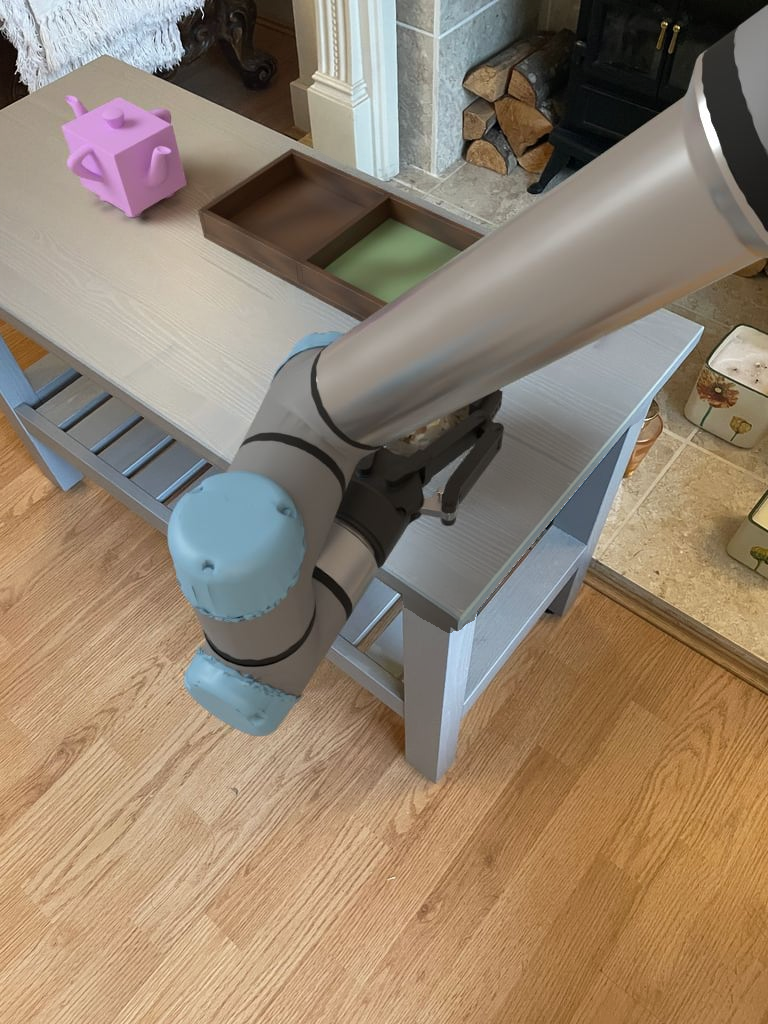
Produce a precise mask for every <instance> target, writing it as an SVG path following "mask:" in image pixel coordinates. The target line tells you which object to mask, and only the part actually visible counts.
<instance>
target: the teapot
mask: <svg viewBox="0 0 768 1024" xmlns="http://www.w3.org/2000/svg"><path fill="white" fill-rule="evenodd" d="M64 99H65V101H66V103H67V104H68V105H69V106H70V107H71V109H72V111H73V112H74V115H75V116H76V118H74V119H72V120H71V121H69V122H67V123H65V124H62V125H61V130H62V133H63V137H64V139H65V141H66V142H65V143H66V145H67V147H68V150H69V152H70V155H69V156H68V158H67V160H66V166H67V169H68V170H69V171H70V172H71V173H72V174H74V175H76V176H77V177H78V179H79V181H80V183H81V186H82V187H84V188H85V189H87V190H89V191H90V192H92V193H94V194H95V195H97V196H98V197H99V199H100V200H101V201H103V202H108V203H109V204H111V205H113V206H115V207H117V208H118V209H120V210H121V211H123V212H124V213H125V215H126V217H129V218H136V217H139V216H141V215H142V214H143V212H144V211H145V210H146V209H148V208H150V207H152V206H153V205H156V204H157V203H158V202H160V201H161V200H163V199H169V198H171V197H173V196H174V195H175V193H176V192H177V191H178V190H180V189H182V188H184V187H186V186H187V179H186V176H185V171H184V168H183V164H182V163H183V162H182V159H181V154H180V150H179V147H178V143H177V138H176V134H175V130H174V126H173V125H172V124H171V123H172V114H171V112H170V110H168V109H166V108H162V107H161V108H155V109H152V110H149V111H147V110H145V109H143V108H141V107H139V106H138V105H135V104H134V103H132V102H130V101H128V100H125V99H124V98H122V97H120V96H118V97H116V98H114V99H112V100H110V101H108V102H106V103H104V104H102V105H99V106H98V107H96V108H94V109H91V110H90V111H88V110H87V108H86V107H85V106H84V104H83V103H82V102H81V101H80V100H79V99H78V98H77V97H75V96H73V95H65V96H64Z"/></svg>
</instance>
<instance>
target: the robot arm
mask: <svg viewBox="0 0 768 1024" xmlns="http://www.w3.org/2000/svg"><path fill="white" fill-rule="evenodd" d="M763 259H768V4H766V5H765V6H764V7H763V8H761V9H760V10H759V11H757V12H756V13H754V14H753V15H751V16H750V17H749V18H747V19H746V20H745V21H744V22H742V23H741V24H739V25H738V26H737V27H735V28H734V29H733V30H731V31H730V32H729V33H727V34H725V36H723V37H721V38H720V39H719V40H718V41H716V42H715V43H713V44H712V45H711V46H709V47H708V48H706V49H705V51H703V52H702V53H700V54H699V55H698V56H697V58H696V60H695V64H694V67H693V71H692V74H691V78H690V81H689V84H688V88H687V91H686V93H685V94H684V96H683V97H681V98H680V99H679V100H678V101H676V102H675V103H673V104H672V105H670V106H669V107H666V109H664V110H663V111H662V112H660V113H659V114H656V116H654V117H653V118H652V119H650V120H648V121H647V122H646V123H644V124H643V125H641V126H640V127H639V128H637V129H636V130H635V131H633V132H631V133H629V135H627V136H626V137H625V138H623V139H621V140H620V141H618V142H617V143H616V144H614V145H612V146H611V147H610V148H608V149H607V150H606V151H604V152H603V153H602V154H600V155H599V156H597V157H596V158H594V159H593V160H591V161H590V162H589V163H587V164H586V165H584V166H583V167H581V168H580V169H578V170H577V171H575V173H572V174H571V175H570V176H569V177H567V178H565V179H564V180H563V181H561V182H560V183H558V184H557V185H555V186H554V187H552V188H551V189H550V190H549V191H547V192H546V193H544V194H542V195H541V196H540V197H539V198H537V199H536V200H534V201H533V202H531V203H530V204H529V205H527V206H525V207H524V208H523V209H521V210H520V211H519V212H517V213H515V214H514V215H512V216H511V217H510V218H509V219H506V220H505V221H504V222H503V223H501V224H500V225H498V226H497V227H495V228H494V229H493V230H491V231H490V232H489V233H487V234H485V236H484V237H483V238H481V239H480V240H478V241H477V242H476V243H474V244H473V245H471V246H470V247H468V248H467V249H466V250H464V251H463V252H461V253H460V254H458V255H457V256H456V257H454V258H453V259H451V260H450V261H448V262H447V263H445V264H444V265H443V266H441V267H440V268H438V269H437V270H435V271H434V272H433V273H431V274H430V275H428V276H427V277H425V278H424V279H423V280H421V281H420V282H418V283H417V284H415V285H414V286H413V287H411V288H410V289H408V290H407V291H405V292H404V293H403V294H401V295H400V296H398V297H397V298H395V299H394V300H393V301H391V302H390V303H388V304H387V305H385V306H384V307H383V308H381V309H380V310H378V311H377V312H375V313H374V314H373V315H371V316H370V317H368V318H367V319H365V320H364V321H362V322H361V321H360V322H359V323H358V324H357V325H355V326H353V327H352V328H351V329H349V330H348V331H347V332H340V331H333V330H331V331H327V332H312V333H309V334H307V335H305V336H303V337H302V338H301V339H299V340H298V341H297V342H296V343H295V344H294V345H293V346H292V348H291V350H290V351H289V353H288V354H287V355H286V358H285V359H284V361H283V362H282V363H281V364H280V365H279V366H278V367H277V369H276V370H275V372H274V373H273V374H274V375H273V378H272V380H271V382H270V384H269V388H268V390H267V392H266V394H265V396H264V398H263V400H262V402H261V404H260V405H259V408H258V410H257V412H256V414H255V416H254V418H253V420H252V422H251V424H250V426H249V428H248V430H247V432H246V434H245V436H244V438H243V440H242V442H241V444H240V446H239V447H238V450H237V452H236V454H235V455H234V456H233V458H232V461H231V463H230V464H229V467H227V470H226V472H221V473H218V474H214V475H212V476H209V477H206V478H205V479H204V480H202V481H201V483H200V484H199V485H198V486H196V487H194V488H193V489H192V490H191V491H190V492H186V493H185V494H184V495H183V496H181V498H180V499H179V500H178V501H177V503H176V505H175V506H174V508H173V511H172V513H171V515H170V518H169V521H168V525H167V546H168V550H169V553H170V556H171V558H172V561H173V567H174V569H175V572H176V573H175V575H176V578H175V579H176V580H177V584H178V586H179V588H180V590H181V592H182V594H183V596H184V598H185V599H186V600H187V601H188V603H190V606H191V607H192V609H193V612H194V614H195V616H196V618H197V620H198V622H199V624H200V626H201V629H202V633H203V637H204V639H205V642H204V643H203V644H202V645H201V646H198V648H197V649H196V650H195V652H194V656H193V658H192V659H191V662H189V665H188V666H187V668H186V670H185V672H184V676H183V685H184V688H185V690H186V691H187V693H188V695H190V697H191V698H192V699H193V700H194V701H195V702H196V703H197V704H198V705H199V706H201V707H202V708H203V709H205V710H206V711H207V712H208V713H209V714H211V715H212V716H213V717H214V718H217V719H218V720H220V722H222V723H224V724H226V725H227V726H229V727H232V728H233V729H235V730H237V731H239V732H242V733H244V734H246V735H249V736H252V737H253V736H254V737H266V736H270V735H271V734H273V733H274V732H276V731H277V730H278V728H279V727H280V726H281V724H282V723H283V722H284V720H285V719H286V717H287V716H288V715H289V713H290V712H291V711H292V710H293V708H294V707H295V705H296V704H298V703H299V702H300V701H301V700H302V699H303V696H302V694H303V692H304V691H305V690H306V687H308V685H309V683H310V681H311V680H312V678H313V677H314V675H315V673H316V672H317V670H318V668H319V667H320V666H321V664H322V662H323V660H324V659H325V658H326V656H327V654H328V653H329V651H330V649H331V648H332V647H333V645H334V643H335V641H336V640H337V638H338V636H339V635H340V633H342V632H341V631H342V630H343V628H344V627H345V625H346V624H347V622H348V620H349V619H350V617H352V614H353V613H354V611H355V609H356V608H357V606H358V605H359V603H360V601H361V600H362V598H363V597H364V596H365V594H366V592H367V590H368V589H369V588H370V586H371V584H372V583H373V581H374V580H375V578H376V576H377V575H378V571H379V570H378V569H380V568H381V567H383V566H384V564H385V563H386V561H387V560H388V558H389V557H390V555H391V553H392V552H393V550H394V548H395V547H396V546H397V544H398V543H399V541H400V539H401V538H402V536H403V535H404V533H405V531H406V529H407V528H408V526H410V525H411V523H413V522H415V521H417V520H419V519H420V518H421V517H422V516H427V517H434V518H440V522H441V524H442V525H443V526H446V527H451V526H454V525H455V524H456V522H457V518H458V512H459V508H460V505H461V503H462V502H463V501H464V500H465V498H466V497H467V495H468V494H469V492H470V491H471V490H472V488H473V487H475V485H476V483H477V482H478V480H479V479H480V477H482V475H483V474H484V472H485V471H486V469H487V468H488V467H489V465H491V463H492V462H493V460H494V459H495V457H496V456H497V455H498V454H499V452H500V451H501V449H502V445H503V439H504V431H505V427H504V424H502V423H501V422H499V421H497V422H496V421H494V419H495V418H496V416H497V414H498V412H499V411H500V409H501V407H502V400H503V391H502V390H501V389H503V388H504V387H507V386H509V385H510V384H513V383H514V382H517V381H518V380H521V379H523V378H524V377H526V376H528V375H531V374H533V373H535V372H536V371H539V370H541V369H543V368H545V367H547V366H549V365H551V364H553V363H555V362H557V361H559V360H561V359H563V358H564V357H567V356H569V355H571V354H573V353H575V352H577V351H579V350H581V349H583V348H585V347H587V346H589V345H591V344H593V343H595V342H598V341H600V340H601V339H603V338H606V337H607V336H610V335H611V334H613V333H616V332H617V331H620V330H621V329H624V328H626V327H627V326H629V325H631V324H634V323H636V322H637V321H640V320H642V319H644V318H646V317H648V316H650V315H652V314H654V313H655V312H657V311H658V312H659V311H660V310H662V309H664V308H666V307H668V306H670V305H672V304H674V303H676V302H678V301H680V300H682V299H684V298H686V297H687V296H690V295H691V294H694V293H696V292H698V291H700V290H702V289H704V288H706V287H708V286H710V285H711V284H713V283H716V282H718V281H721V280H722V279H725V278H726V277H727V276H730V275H732V274H734V273H736V272H738V271H740V270H742V269H744V268H747V267H749V266H751V265H753V264H754V263H756V262H759V261H760V260H763ZM468 404H469V416H468V417H467V418H465V419H464V420H463V421H461V422H460V423H459V424H457V425H456V426H455V427H453V428H452V429H451V430H449V431H448V432H447V433H445V434H444V435H443V436H441V437H440V438H439V439H437V440H436V441H435V442H433V443H432V444H431V445H429V446H428V447H427V448H425V449H424V450H421V449H420V450H417V451H416V452H415V453H413V454H412V455H411V456H409V457H407V456H404V455H398V454H394V453H393V452H391V451H390V450H389V449H387V448H386V445H388V444H390V443H392V442H394V441H396V440H398V439H400V438H402V437H404V436H406V435H408V434H410V433H412V432H414V431H416V430H418V429H420V428H422V427H424V426H426V425H428V424H430V423H432V422H434V421H436V420H438V419H440V418H442V417H444V416H446V415H448V414H450V413H452V412H454V411H456V410H458V409H460V408H462V407H464V406H466V405H468ZM469 448H470V449H469ZM468 450H469V452H468V453H467V455H466V456H465V457H464V458H463V459H462V461H461V462H460V463H459V465H458V466H457V467H456V469H455V470H454V471H453V473H452V474H450V477H448V480H447V482H446V483H445V487H439V488H438V489H437V490H436V491H435V492H434V494H433V495H432V496H431V497H425V495H424V490H423V489H424V488H425V487H426V486H428V485H429V484H430V482H431V481H432V479H433V477H435V476H436V475H438V474H439V473H440V472H441V471H442V470H444V469H445V468H446V467H447V466H449V465H451V464H452V463H453V462H454V461H456V460H457V459H458V458H460V456H462V455H463V454H464V453H466V452H467V451H468Z"/></svg>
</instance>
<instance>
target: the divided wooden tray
mask: <svg viewBox="0 0 768 1024" xmlns="http://www.w3.org/2000/svg"><path fill="white" fill-rule="evenodd" d="M197 213H198V218H199V221H200V225H201V229H202V235H203V237H204V239H206V240H208V241H210V242H212V243H214V244H215V245H218V246H219V247H221V248H223V249H225V250H226V251H229V252H231V253H232V254H234V255H235V256H238V257H240V258H241V259H243V260H245V261H247V262H249V263H251V264H253V265H255V266H257V267H259V268H261V269H262V270H264V271H266V272H268V273H269V274H272V275H273V276H275V277H277V278H279V279H281V280H282V281H284V282H287V283H288V284H291V285H292V286H294V287H296V288H298V289H300V290H301V291H303V292H305V293H307V294H309V295H311V296H312V297H314V298H317V300H320V301H321V302H323V303H326V304H328V305H329V306H331V307H333V308H335V309H337V310H338V311H340V312H342V313H344V314H346V315H348V316H350V317H352V318H354V319H355V320H357V321H359V322H360V323H361V322H362V321H364V320H365V319H367V318H368V317H370V316H371V315H373V314H374V313H375V312H377V311H378V310H380V309H381V308H383V307H384V306H385V305H387V304H388V303H390V302H391V301H393V300H394V299H395V298H397V297H398V296H400V295H401V294H403V293H404V292H405V291H407V290H408V289H410V288H411V287H413V286H414V285H415V284H417V283H418V282H420V281H421V280H423V279H424V278H425V277H427V276H428V275H430V274H431V273H433V272H434V271H435V270H437V269H438V268H440V267H441V266H443V265H444V264H445V263H447V262H448V261H450V260H451V259H453V258H454V257H456V256H457V255H458V254H460V253H461V252H463V251H464V250H466V249H467V248H468V247H470V246H471V245H473V244H474V243H476V242H477V241H478V240H480V239H481V238H483V237H484V236H486V234H482V233H480V232H478V231H476V230H474V229H472V228H470V227H468V226H465V225H463V224H461V223H459V222H457V221H454V220H451V219H449V218H447V217H445V216H443V215H441V214H438V213H436V212H434V211H433V210H430V209H427V208H425V207H422V206H421V205H418V204H416V203H414V202H412V201H409V200H408V199H405V198H403V197H400V196H398V195H396V194H394V193H392V192H390V191H388V190H385V189H384V188H381V187H378V186H377V185H374V184H373V183H370V182H368V181H365V180H363V179H361V178H358V177H357V176H354V175H352V174H350V173H348V172H346V171H344V170H341V169H339V168H337V167H334V166H332V165H330V164H328V163H325V162H323V161H321V160H319V159H317V158H314V157H312V156H310V155H308V154H306V153H303V152H302V151H299V150H296V149H294V148H290V149H288V150H287V151H285V152H284V153H282V154H280V155H279V156H278V157H276V158H275V159H273V160H272V161H270V162H269V163H267V164H266V165H264V166H263V167H261V168H260V169H258V170H257V171H255V172H254V173H252V174H251V175H249V176H248V177H246V178H244V179H243V180H242V181H240V182H238V183H237V184H235V185H234V186H232V187H231V188H229V189H227V190H226V191H225V192H223V193H222V194H220V195H218V197H216V198H215V199H213V200H211V201H210V202H208V203H207V204H205V205H204V206H202V207H201V208H199V209H198V210H197Z"/></svg>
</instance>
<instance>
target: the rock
mask: <svg viewBox="0 0 768 1024" xmlns="http://www.w3.org/2000/svg"><path fill="white" fill-rule="evenodd" d="M468 416H469V404H468V405H466V406H464V407H462V408H460V409H458V410H456V411H454V412H452V413H450V414H448V415H446V416H444V417H442V418H440V419H438V420H436V421H434V422H432V423H430V424H428V425H426V426H424V427H422V428H420V429H418V430H416V431H414V432H412V433H410V434H408V435H406V436H404V437H402V438H400V439H398V440H396V441H394V442H392V443H390V444H388V445H386V446H385V448H387V449H389V450H390V451H391V452H393V453H394V454H398V455H404V456H407V457H409V456H411V455H412V454H413V453H415V452H416V451H417V450H420V449H421V450H424V449H425V448H427V447H428V446H429V445H431V444H432V443H433V442H435V441H436V440H437V439H439V438H440V437H441V436H443V435H444V434H445V433H447V432H448V431H449V430H451V429H452V428H453V427H455V426H456V425H457V424H459V423H460V422H461V421H463V420H464V419H465V418H467V417H468ZM468 450H471V448H469V449H468Z"/></svg>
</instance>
